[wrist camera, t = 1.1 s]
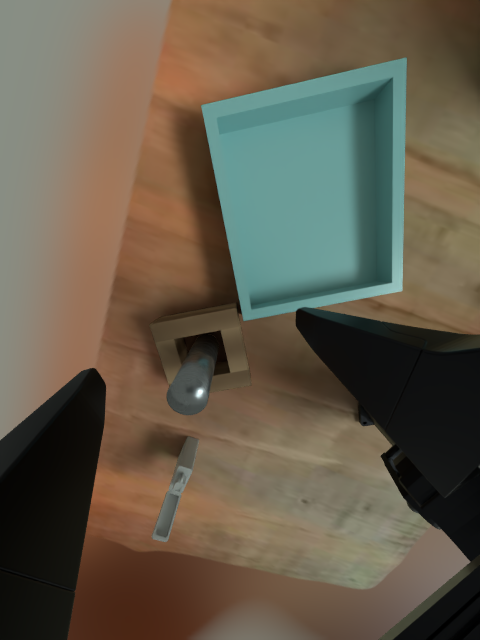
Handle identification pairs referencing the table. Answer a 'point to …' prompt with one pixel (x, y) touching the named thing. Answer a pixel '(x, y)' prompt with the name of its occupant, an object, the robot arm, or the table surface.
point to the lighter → (175, 489)
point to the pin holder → (198, 322)
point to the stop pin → (194, 377)
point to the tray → (313, 188)
